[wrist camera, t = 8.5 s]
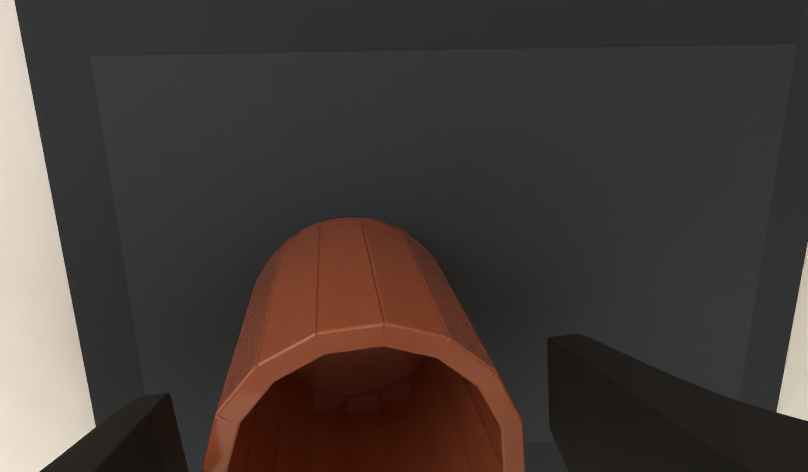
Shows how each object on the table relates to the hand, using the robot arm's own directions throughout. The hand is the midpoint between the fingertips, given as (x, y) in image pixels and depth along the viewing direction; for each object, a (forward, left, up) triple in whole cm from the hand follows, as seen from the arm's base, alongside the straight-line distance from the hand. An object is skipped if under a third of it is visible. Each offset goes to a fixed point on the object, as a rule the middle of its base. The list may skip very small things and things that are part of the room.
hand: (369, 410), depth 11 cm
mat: (-3, -1, -5) cm, 6 cm away
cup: (0, 0, -5) cm, 5 cm away
